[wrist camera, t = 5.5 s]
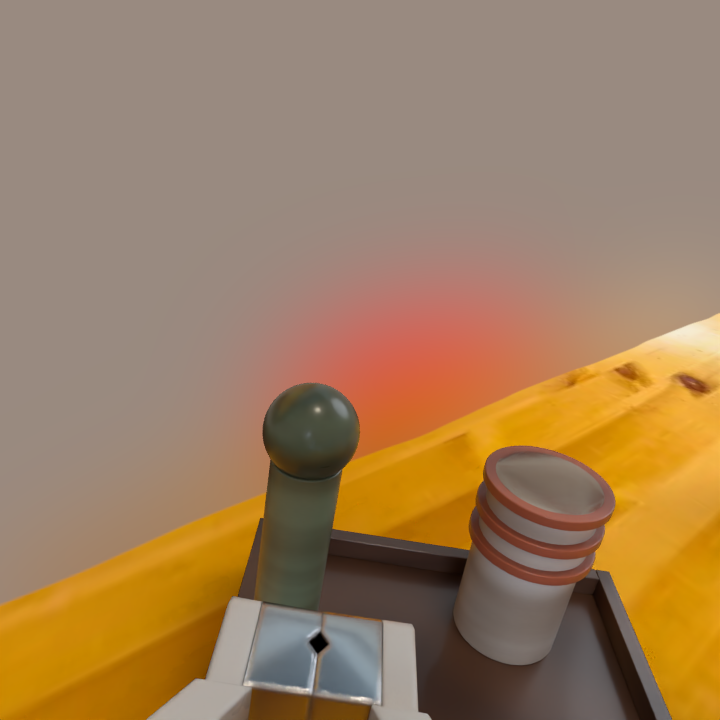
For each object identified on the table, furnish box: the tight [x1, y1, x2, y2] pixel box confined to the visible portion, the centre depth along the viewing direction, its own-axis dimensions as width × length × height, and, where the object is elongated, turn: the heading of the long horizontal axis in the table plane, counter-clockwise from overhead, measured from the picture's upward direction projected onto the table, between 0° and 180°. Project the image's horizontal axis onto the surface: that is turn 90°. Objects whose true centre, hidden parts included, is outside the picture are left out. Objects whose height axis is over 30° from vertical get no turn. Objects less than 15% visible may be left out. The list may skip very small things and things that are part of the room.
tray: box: [238, 383, 672, 720], centre depth 26 cm, size 20×20×16 cm
